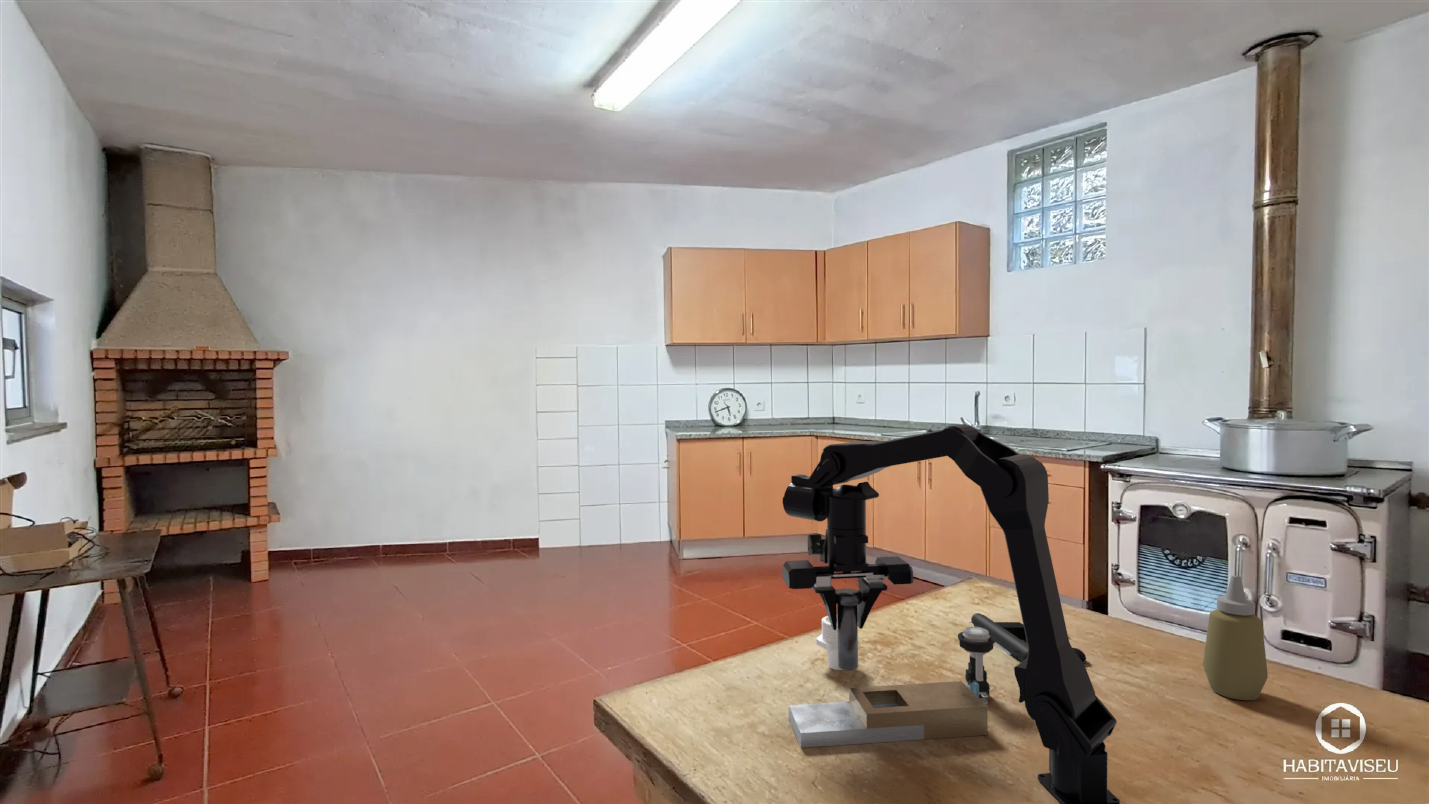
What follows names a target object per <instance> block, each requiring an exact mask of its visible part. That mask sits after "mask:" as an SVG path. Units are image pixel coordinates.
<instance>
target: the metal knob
mask: <svg viewBox="0 0 1429 804" xmlns="http://www.w3.org/2000/svg"><path fill="white" fill-rule="evenodd" d="M835 590H836V608H837V631H838V667H839V668H841V669H843V670H844V671H855V670H857V669H858V668H859V644H858V638H859V635H858V632H859V629H858V628H859V627H858V617H857V614H858V604H860V603H862V593H861V592H860V591H859V589H855V588H846V587H845V588H838V589H836V588H835Z"/></svg>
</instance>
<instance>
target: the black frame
mask: <svg viewBox="0 0 1429 804" xmlns="http://www.w3.org/2000/svg"><path fill="white" fill-rule="evenodd" d="M970 620H971V621H969V622H968V623H969V624H972V625H973V627H980V628H983V629H986V630H987V631H988V633H989V635H991V636H993V637H994V638H995V643H994V644H993V645H995V646H996V647H997V648H998V649H1000V650H1002V652H1004V653H1006V654H1007V655H1008V656H1013V657H1014V658H1016V659H1018V660H1019V661H1021V662H1023V661H1024V660H1026V659H1027V656H1028V645H1027V642H1025V641H1027V640H1026V635H1025V630H1024V625H1023V622H1020V621H993V620H992V619H991V618H989V617H988V616H986V615H985V614H981V613H980V612H976V613H974V614H973V615H972V616H971V619H970ZM1072 648H1073V649H1074V651H1075V652H1076V654H1077V655H1078V656H1079V658H1080V659H1081V661H1082V662H1083V663H1084V664H1085V662H1086V661H1087V656H1086V654H1085V653H1084V652H1083V650H1081V649H1080V648H1078V647H1077V648H1076V647H1072Z"/></svg>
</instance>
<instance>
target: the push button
mask: <svg viewBox="0 0 1429 804" xmlns="http://www.w3.org/2000/svg"><path fill="white" fill-rule="evenodd" d="M957 640H958V641H959V643H958V645H959V647H960V648H961V649H963V650H964V651H965V652H967V653H969V662H968V663H967V669H965V677H964V679H965V683H964V684H965V685H966V686H967V687H968V688H969V689H970V690H971V691H972V692H973V693H974V694H975V695H976V696H977V697H979V698H980V699H981V700H982V701H983V702H984V703H985V704H986V705H987V704H989V702H988V698H989V696H988V695H990V683H989V682H988V672H987V670H985V666H984V655H986V654H988V653H990V652H991V651H992V650H994V645H995V644H994V643H995V638H994V637H993V636H991V635H989V633H988V631H987V630H986V629H983V628H980V627H974V626H967V627H965V628H963V631H960V632H959V633H958V634H957Z"/></svg>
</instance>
